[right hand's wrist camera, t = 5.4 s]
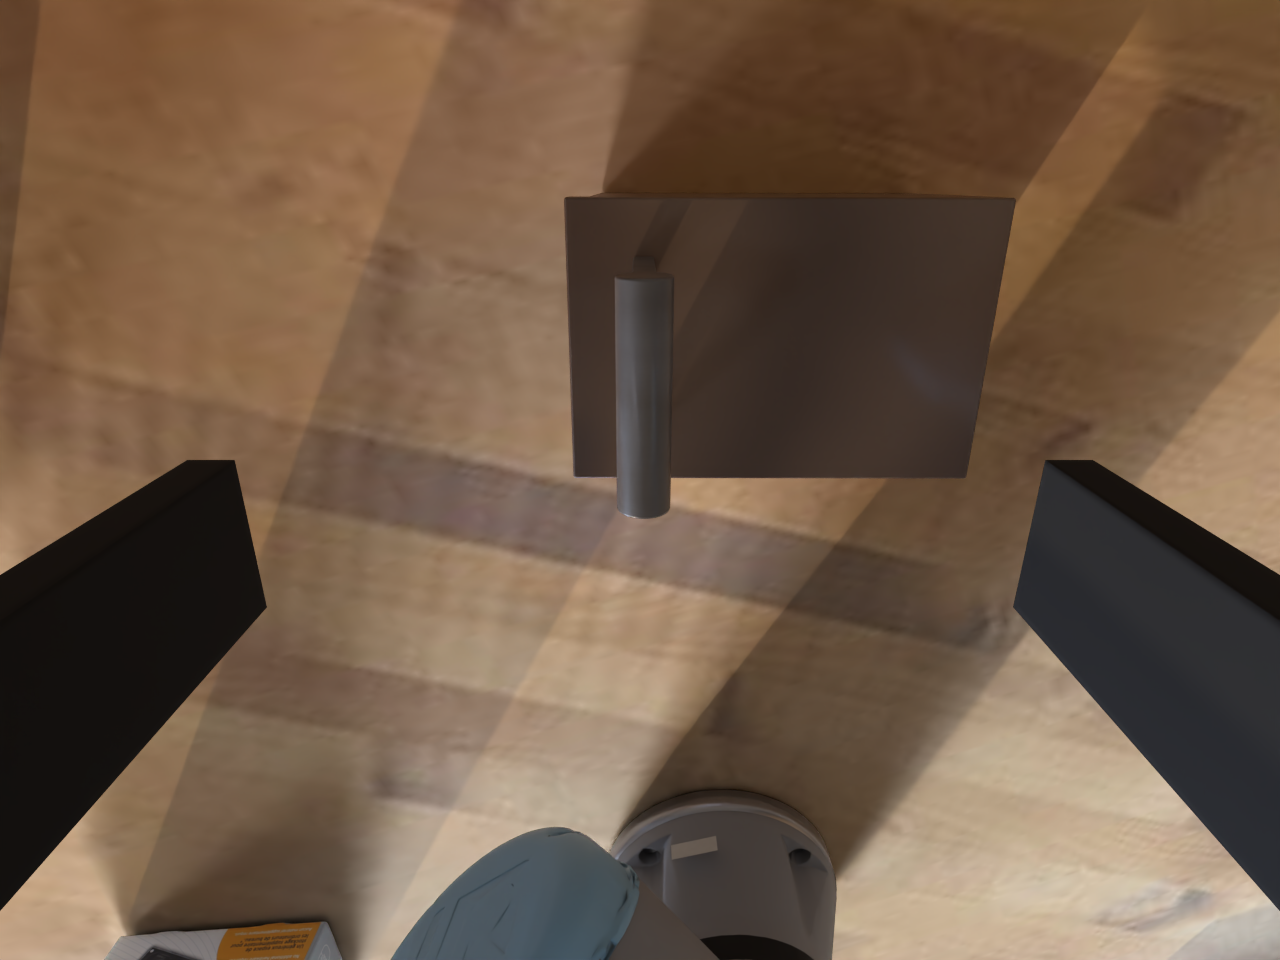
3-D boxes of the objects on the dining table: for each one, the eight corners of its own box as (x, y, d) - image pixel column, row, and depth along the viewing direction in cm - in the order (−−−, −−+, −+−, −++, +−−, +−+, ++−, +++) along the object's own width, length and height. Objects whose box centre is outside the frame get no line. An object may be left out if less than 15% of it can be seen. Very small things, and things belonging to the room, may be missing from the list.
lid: (575, 467, 29) (551, 574, 21) (566, 196, 26) (533, 203, 18) (954, 468, 29) (1071, 575, 21) (1001, 197, 26) (1165, 204, 18)
